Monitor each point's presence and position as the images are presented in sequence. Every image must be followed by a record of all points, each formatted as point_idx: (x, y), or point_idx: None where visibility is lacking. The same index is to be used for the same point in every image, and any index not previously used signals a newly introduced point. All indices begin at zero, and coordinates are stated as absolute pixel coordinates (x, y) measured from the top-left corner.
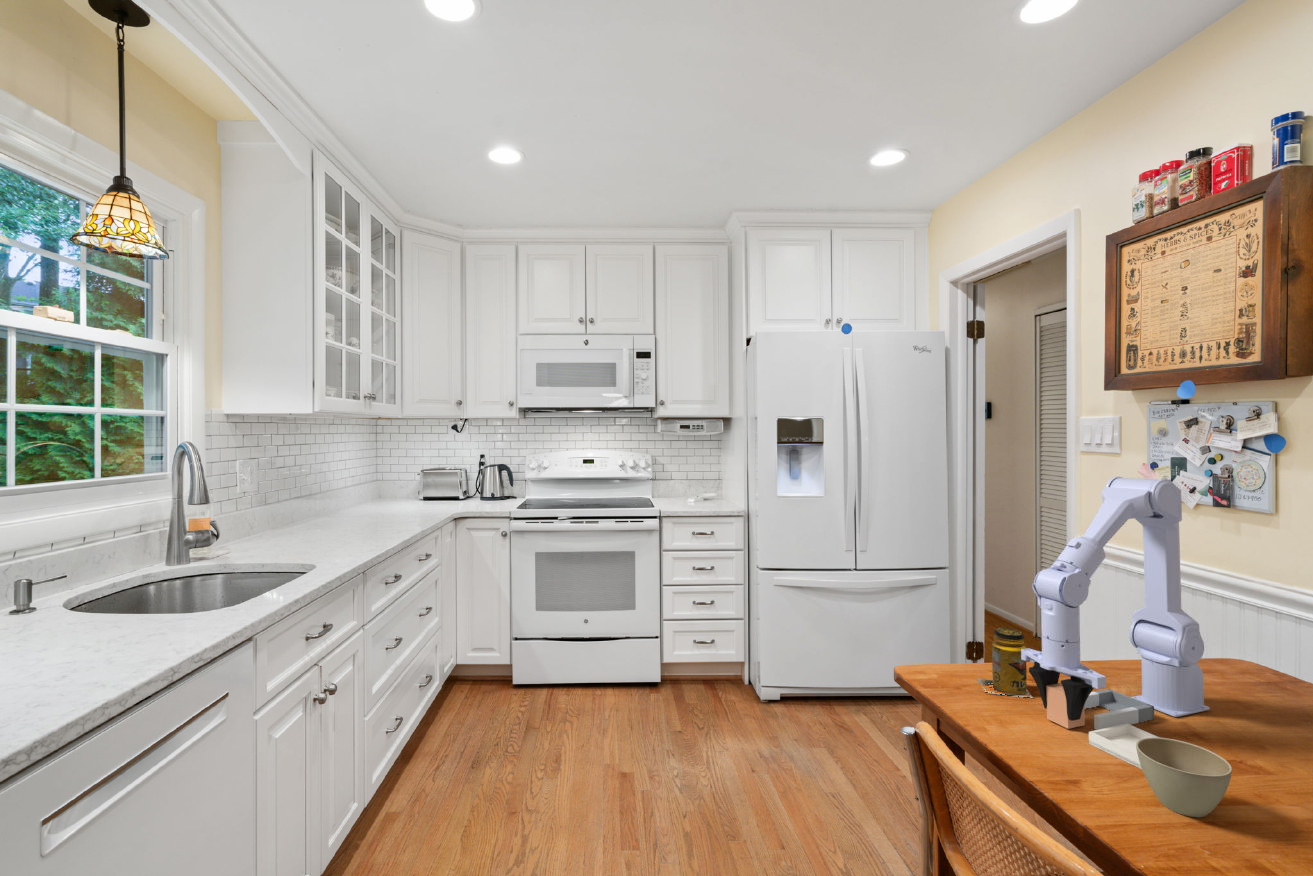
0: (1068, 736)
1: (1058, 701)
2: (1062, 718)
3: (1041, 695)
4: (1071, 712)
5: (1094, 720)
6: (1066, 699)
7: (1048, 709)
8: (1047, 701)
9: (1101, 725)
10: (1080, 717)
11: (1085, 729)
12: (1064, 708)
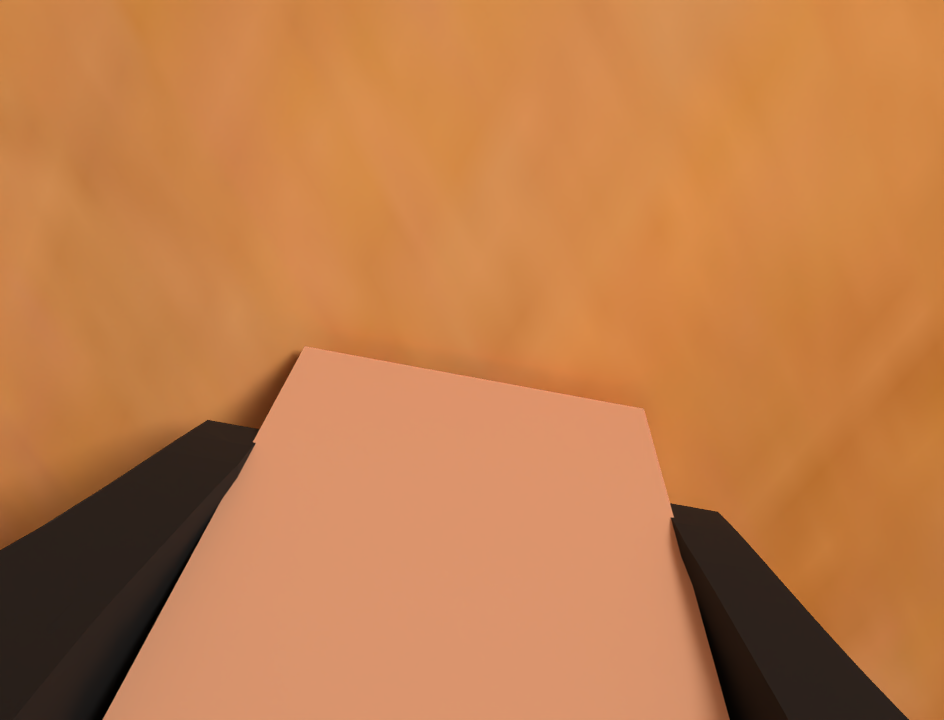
0: (188, 155)
1: (408, 629)
2: (369, 419)
3: (828, 656)
4: (116, 485)
5: None
6: (49, 659)
7: (636, 496)
8: (674, 593)
9: None
10: None
11: None
12: (278, 532)
